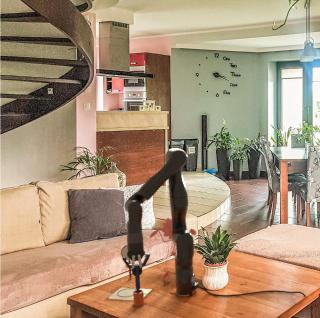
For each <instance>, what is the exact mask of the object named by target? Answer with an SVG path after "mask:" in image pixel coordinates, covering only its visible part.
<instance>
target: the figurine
mask: <svg viewBox="0 0 320 318" xmlns="http://www.w3.org/2000/svg"><path fill="white" fill-rule="evenodd" d="M188 232H189V233H190V234H191V235H192V236H193V237H194V236H196V235H197V231H196V229H193V228H190V229H189V231H188ZM161 233H163V236H162V234H161ZM157 234H159V237H160V238H161V240H162V243H168V242H173V241H172V217H171V218H169V217H166V219H165V222H162V228H161V230H160V229H159V228H157V229H155V230H154V231H153V232H151V234H150V235H149V239H152V238H153V237H155V236H156V235H157ZM164 237H165V238H167V237H168V239H169V240H164ZM175 248H176V245H174V244H173V249H172V251H171V252H170V253H171V254H170V256H169V257H167V258H166V260H165V267H166V269H168V262H167V261H168V260H169V259H170V257H175V256H176V255H177V251H175ZM170 273H171V272H170V270H166V272H165V273H162V274H161V276H162V275H163V278H162V279H163V280H166V278H167V281H168V283H171V282H170V281H171V280H170ZM159 277H160V275H158V276H157V278H159Z"/></svg>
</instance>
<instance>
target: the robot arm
mask: <svg viewBox="0 0 320 318" xmlns="http://www.w3.org/2000/svg"><path fill="white" fill-rule="evenodd" d="M164 160H165V164H164V165H163V166H162V167H161V168H160V170H158V171H156V173H155V174H153V175H152V176H150V177H149V178H148V179H147V180H146V181H145V182H144V183H143V184H142V186H141V187H140V188H138V190H137V191H136V192H134V193H133V194H132V195H131V196H129V197H128V198H127V200H126V201H125V203H124V206H123V207H124V210H125V211H126V213H127V215H128V220H127V221H126V245H127V246H128V252H127V255H125V256H123V257H122V256H121V259H122V261H123V263H124V264H125V265H126V267H127V268H128V269H129V268H131V276H134V277H135V267H134V265H135V262H138V264H139V273H140V276H141V275H142V274H143V267H146V266H147V263H148V261H149V260H150V257H151V254H150V252H146V251H145V247H144V245H145V244H144V233H143V223H142V220H143V215H144V214H143V213H144V209H143V204H144V203H145V202H146V201H147V202H148V201H150V200H151V199H152V198H153V197H154V195H155V194H156V193H157V192H158V191H159V190H160V188H161V187H162V186H163V185H164V184H165V183H166V182H167V181H168V196H169V205H170V215H171V216H170V217H171V218H172V239H171V240H172V241H171V242H173V246H174V245H175V248H176V249H175V250H176V255H175V256H174V273H175V289H176V290H175V291H176V292H175V294H176V296H178V297H179V296H180V297H192V296H194V294H195V293H196V291H197V289H201V290H203V291H205V293H207V294H208V295H211V296H215V297H225V298H226V297H228V298H229V297H240V296H247V295H255V294H261V293H262V294H263V293H264V294H265V293H284V294H300V295H302V296H303V297H307V295H306V294H305V293H303V292H302V291H288V290H275V289H274V290H272V289H271V290H260V291H259V290H258V291H252V292H244V293H237V294H216V293H213V292H210V291H208V290H207V289H206V288H204V287H203V286H200V285H199V282H196V274H195V272H194V256H195V241H194V240H195V239H194V235H192V234H191V233H189V231H188V226H187V214H188V209H189V194H188V189H187V186H186V183H185V181H184V177H183V171H182V169H183V167H184V166H185V165H186V163H187V162H188V154H187V153H186V151H184V150H183V149H181V148H180V149H179V148H169V149H168V150H167V151H166V153H165V156H164ZM127 257H129V258H130V260H131V264H129V262H128V260H127ZM143 258H144V260H143ZM142 260H143V261H142Z"/></svg>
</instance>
